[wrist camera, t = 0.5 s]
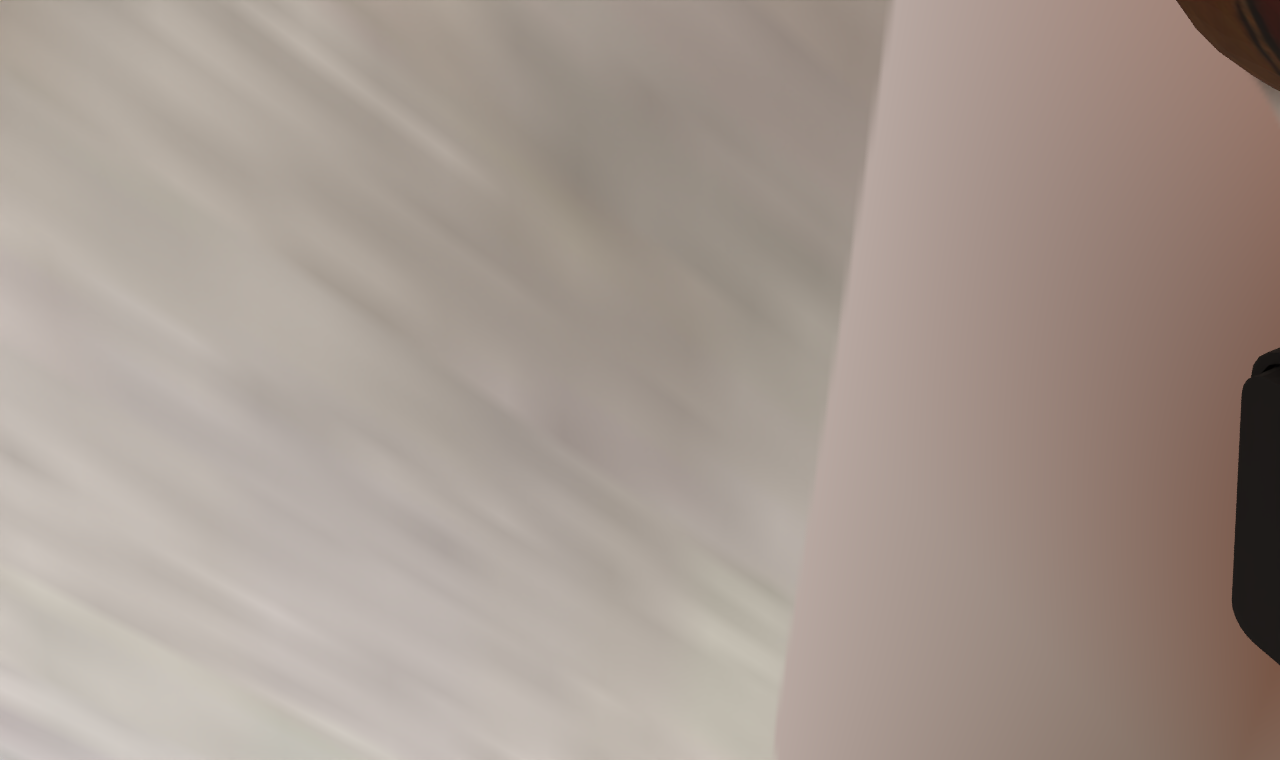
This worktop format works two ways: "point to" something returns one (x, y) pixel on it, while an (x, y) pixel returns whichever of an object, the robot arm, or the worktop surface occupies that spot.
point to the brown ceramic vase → (1242, 33)
